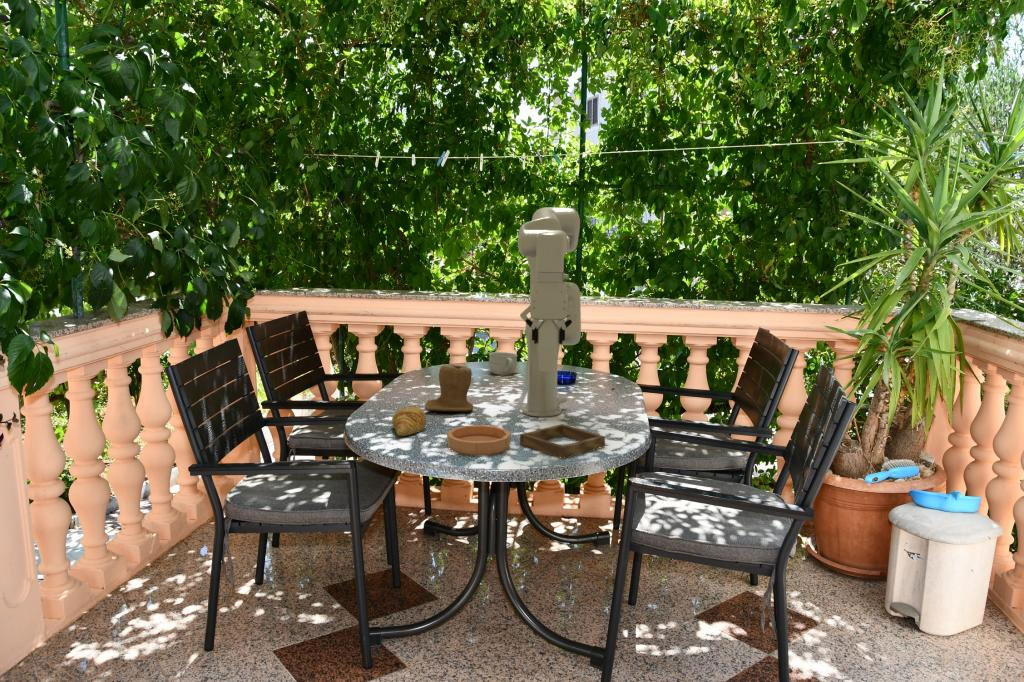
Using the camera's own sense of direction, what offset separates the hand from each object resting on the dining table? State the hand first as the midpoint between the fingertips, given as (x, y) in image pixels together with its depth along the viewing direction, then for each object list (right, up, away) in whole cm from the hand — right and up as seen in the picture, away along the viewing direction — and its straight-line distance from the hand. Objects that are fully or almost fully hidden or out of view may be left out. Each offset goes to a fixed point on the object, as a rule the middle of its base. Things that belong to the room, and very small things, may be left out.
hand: (548, 342), depth 239 cm
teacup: (-13, -13, +96) cm, 98 cm away
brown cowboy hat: (-30, -22, +43) cm, 57 cm away
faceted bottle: (0, -8, +1) cm, 8 cm away
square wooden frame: (+4, -29, +5) cm, 30 cm away
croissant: (-41, -26, +20) cm, 53 cm away
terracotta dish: (-19, -29, +4) cm, 35 cm away
